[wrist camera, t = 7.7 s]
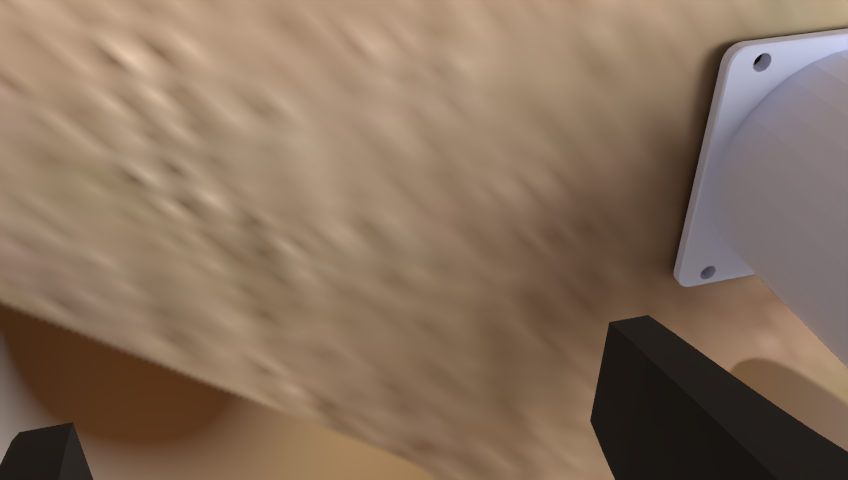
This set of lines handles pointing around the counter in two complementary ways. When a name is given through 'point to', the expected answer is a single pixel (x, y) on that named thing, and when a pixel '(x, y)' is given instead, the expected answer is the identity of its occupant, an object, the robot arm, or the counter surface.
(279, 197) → the counter surface
